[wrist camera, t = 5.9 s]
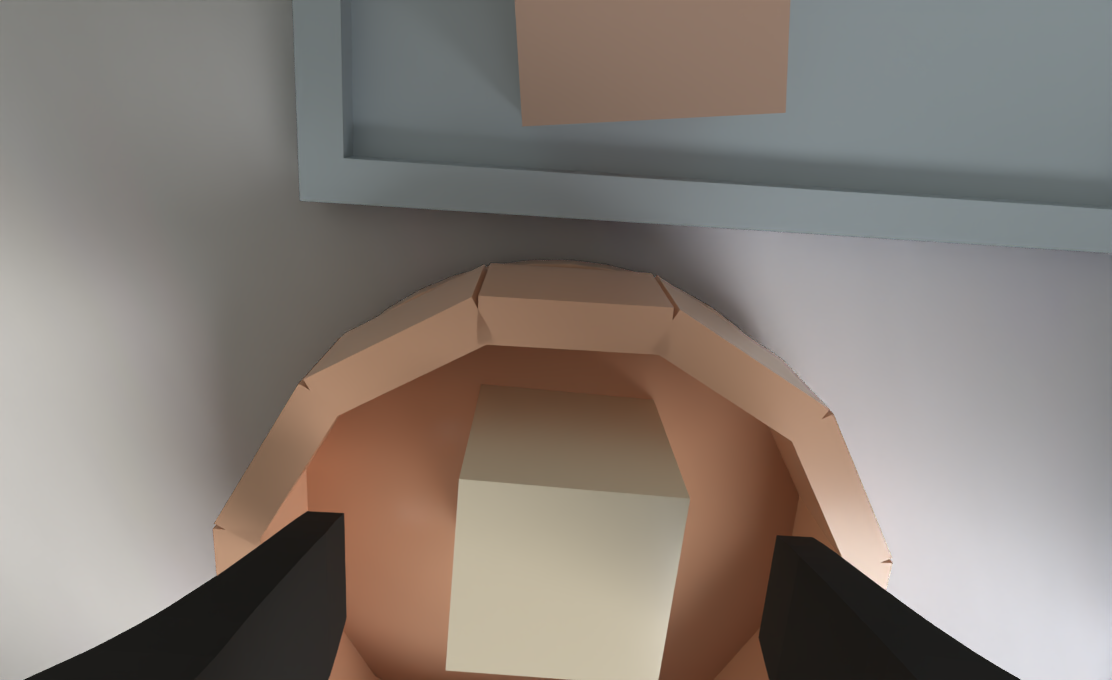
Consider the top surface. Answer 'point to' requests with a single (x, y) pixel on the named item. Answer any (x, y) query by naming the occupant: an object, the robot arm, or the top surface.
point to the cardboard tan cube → (650, 59)
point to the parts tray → (734, 125)
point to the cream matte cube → (565, 537)
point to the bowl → (560, 365)
